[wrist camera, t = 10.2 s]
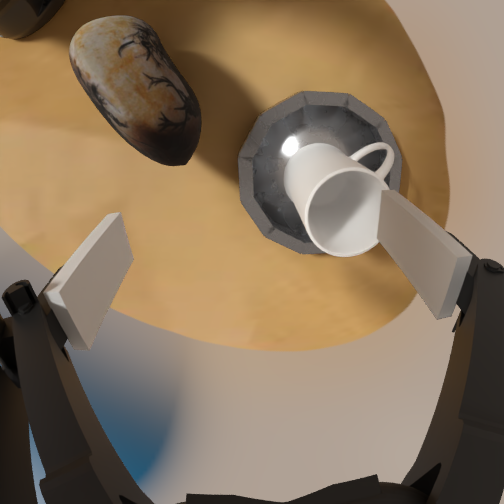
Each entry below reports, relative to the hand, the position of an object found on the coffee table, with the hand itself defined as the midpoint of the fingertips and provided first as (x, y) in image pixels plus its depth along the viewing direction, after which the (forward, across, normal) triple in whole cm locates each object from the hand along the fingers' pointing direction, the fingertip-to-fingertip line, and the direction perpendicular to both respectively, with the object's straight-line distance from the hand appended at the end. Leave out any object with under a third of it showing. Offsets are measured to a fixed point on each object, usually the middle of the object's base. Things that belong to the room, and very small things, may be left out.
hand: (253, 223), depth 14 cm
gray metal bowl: (+21, +9, -4) cm, 23 cm away
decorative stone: (+22, -9, +8) cm, 25 cm away
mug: (+21, +10, -3) cm, 23 cm away
